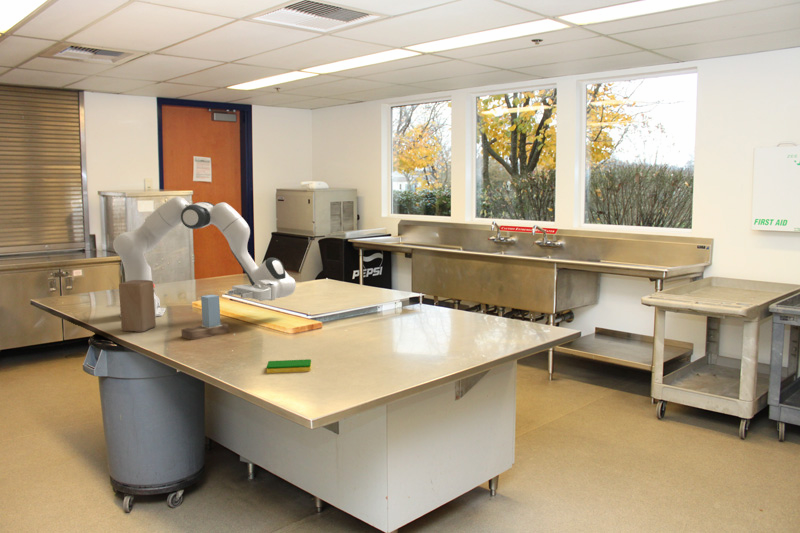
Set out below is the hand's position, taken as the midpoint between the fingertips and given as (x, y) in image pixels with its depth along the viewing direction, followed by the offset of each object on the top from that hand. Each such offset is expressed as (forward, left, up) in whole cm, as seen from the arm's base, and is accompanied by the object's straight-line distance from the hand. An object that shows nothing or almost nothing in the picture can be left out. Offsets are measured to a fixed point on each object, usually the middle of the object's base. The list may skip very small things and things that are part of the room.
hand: (235, 294), depth 264 cm
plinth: (+11, -10, -14) cm, 20 cm away
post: (+9, -8, -11) cm, 16 cm away
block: (-1, -40, -14) cm, 43 cm away
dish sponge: (+61, +29, -15) cm, 69 cm away
